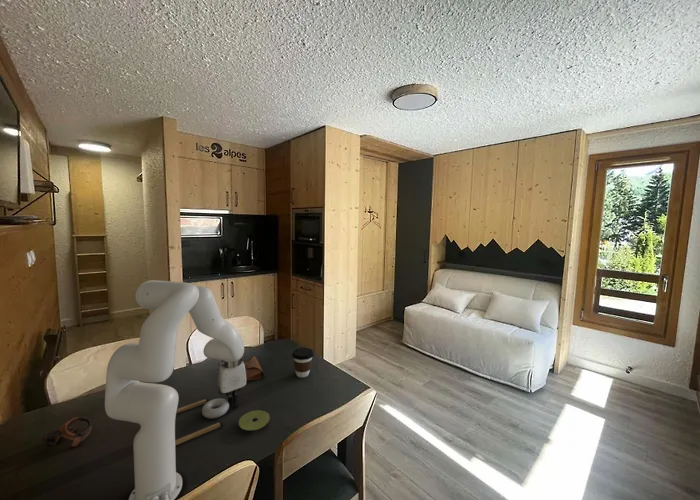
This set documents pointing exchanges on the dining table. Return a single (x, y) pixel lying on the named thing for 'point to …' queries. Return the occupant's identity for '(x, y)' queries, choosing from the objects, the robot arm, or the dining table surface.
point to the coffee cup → (302, 361)
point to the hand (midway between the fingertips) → (232, 403)
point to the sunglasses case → (253, 369)
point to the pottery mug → (68, 433)
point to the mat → (254, 420)
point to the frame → (199, 430)
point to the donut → (220, 407)
